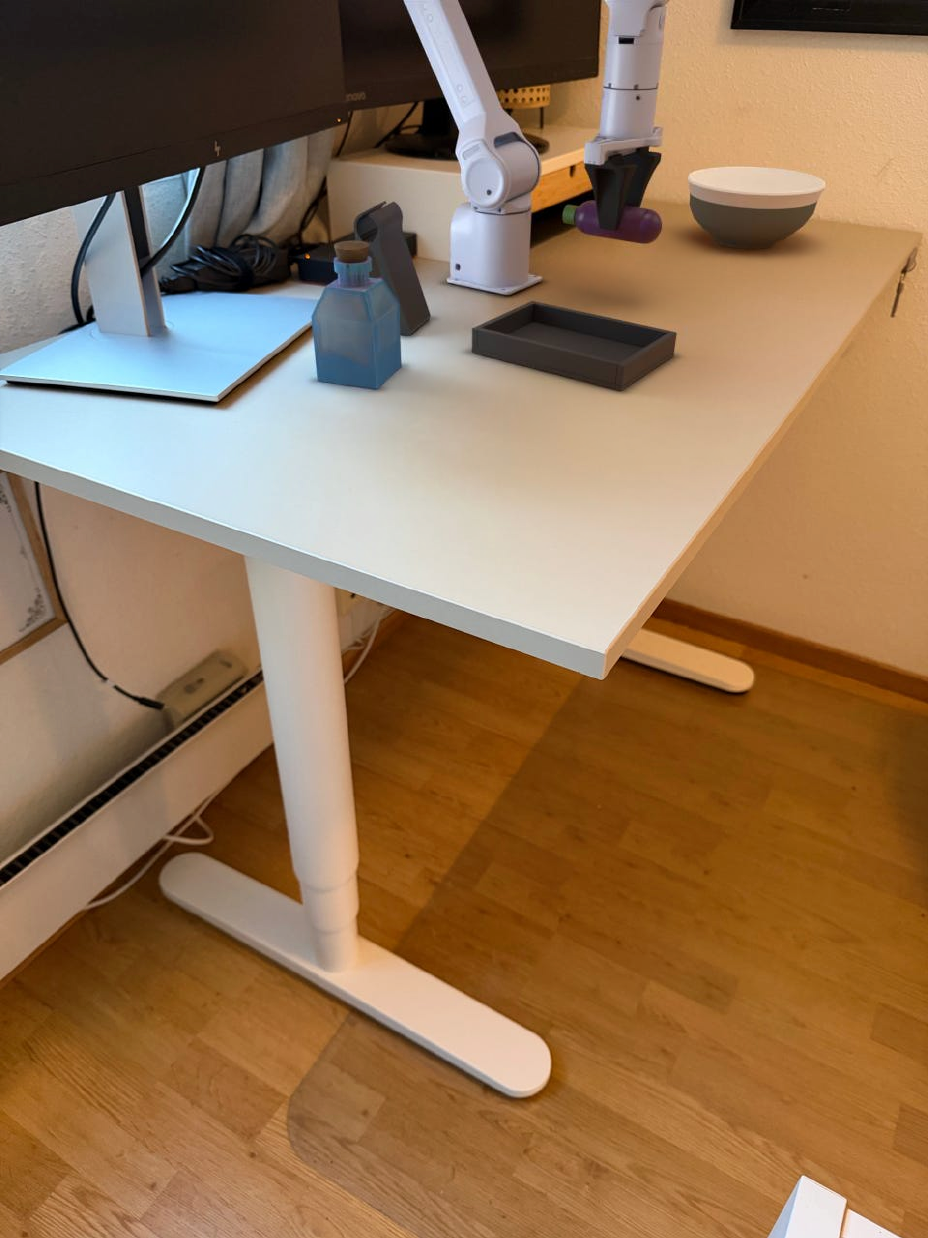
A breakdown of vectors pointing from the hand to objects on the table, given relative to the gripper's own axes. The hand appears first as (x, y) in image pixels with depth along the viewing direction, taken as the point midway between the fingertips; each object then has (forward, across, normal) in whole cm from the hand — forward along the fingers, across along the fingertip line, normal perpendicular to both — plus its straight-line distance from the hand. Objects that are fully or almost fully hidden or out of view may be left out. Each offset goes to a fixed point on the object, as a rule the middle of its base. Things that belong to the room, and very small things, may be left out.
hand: (616, 225), depth 101 cm
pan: (+8, -18, -5) cm, 21 cm away
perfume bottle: (+9, -35, +9) cm, 37 cm away
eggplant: (+1, 0, 0) cm, 1 cm away
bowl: (+9, +36, -3) cm, 37 cm away
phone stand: (+9, -22, +17) cm, 29 cm away
